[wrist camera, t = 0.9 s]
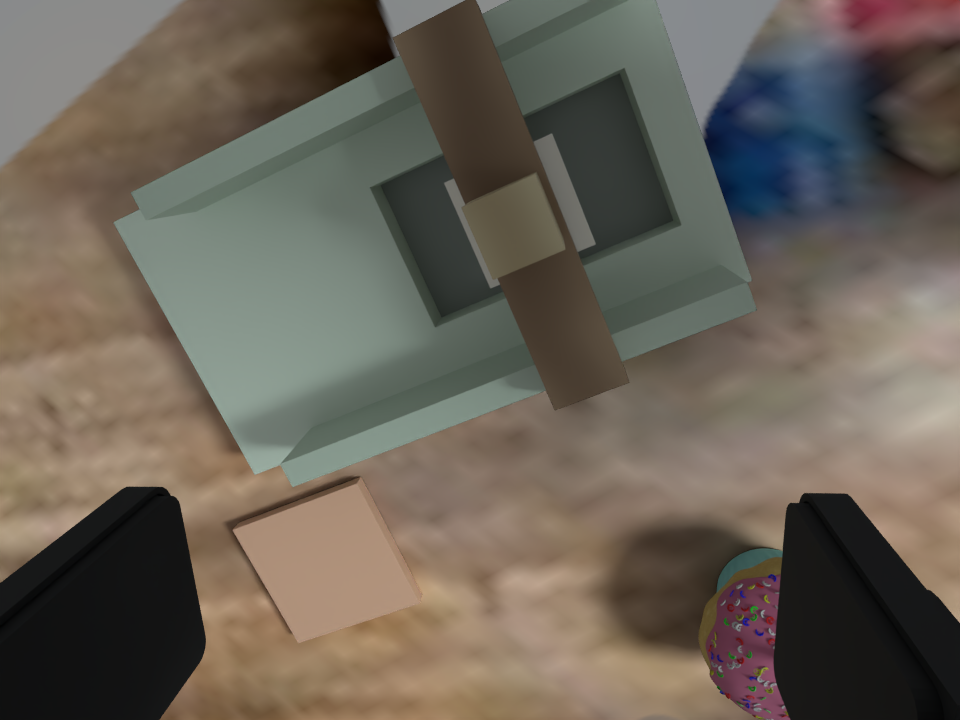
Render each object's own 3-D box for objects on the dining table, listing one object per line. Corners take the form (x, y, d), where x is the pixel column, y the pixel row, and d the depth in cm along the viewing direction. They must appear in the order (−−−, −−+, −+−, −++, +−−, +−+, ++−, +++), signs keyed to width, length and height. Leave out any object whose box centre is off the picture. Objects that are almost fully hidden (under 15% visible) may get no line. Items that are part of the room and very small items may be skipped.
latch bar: (479, 8, 25) (462, -27, 20) (623, 366, 28) (639, 411, 23) (404, 46, 25) (370, 21, 20) (554, 393, 28) (555, 441, 24)
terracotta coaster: (360, 476, 38) (357, 483, 37) (422, 594, 40) (419, 603, 39) (238, 522, 40) (232, 530, 39) (303, 634, 42) (298, 643, 41)
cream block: (551, 136, 32) (552, 133, 26) (587, 227, 33) (595, 244, 27) (462, 177, 33) (444, 182, 27) (500, 265, 34) (490, 288, 28)
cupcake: (661, 545, 38) (711, 718, 26) (819, 493, 36) (945, 654, 24) (715, 669, 40) (782, 880, 28) (866, 625, 38) (1004, 831, 26)
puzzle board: (633, -27, 30) (657, -75, 23) (737, 271, 33) (782, 300, 27) (142, 217, 35) (52, 232, 29) (273, 454, 38) (217, 515, 32)
